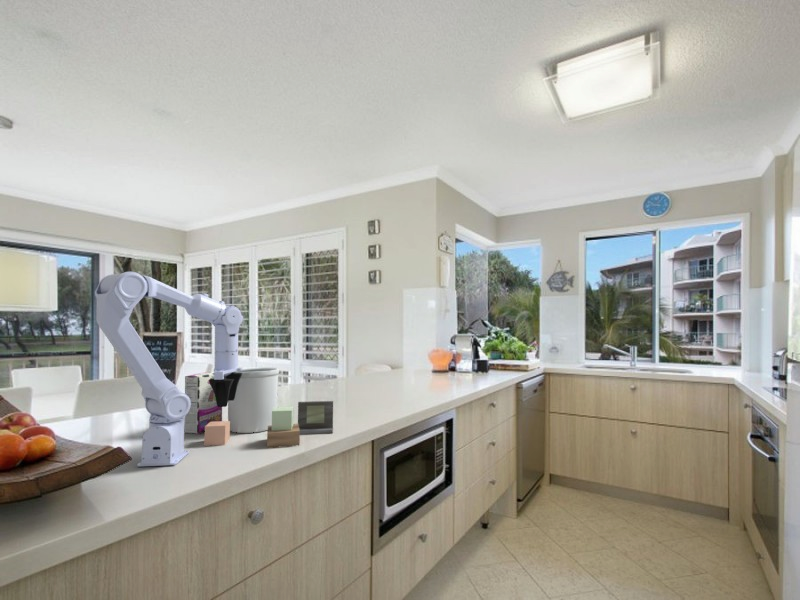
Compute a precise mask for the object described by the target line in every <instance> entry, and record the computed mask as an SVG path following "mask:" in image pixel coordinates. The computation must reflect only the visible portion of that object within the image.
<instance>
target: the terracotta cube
mask: <svg viewBox="0 0 800 600" xmlns="http://www.w3.org/2000/svg"><path fill="white" fill-rule="evenodd" d="M230 435H231V431H230V421H228V420H227V421H226V420H225V421H223V420H222V421H218V422H210V423H208V424H207V425H206V426H205V432H204V439H203V440H204V441H203V443H204V444H203V445H204V446H205V447H207V446H210V445H212V446H225V445H226V444H227V443H228V442H229V441H230V440H229V439H230V438H231V437H230ZM228 440H229V441H228Z"/></svg>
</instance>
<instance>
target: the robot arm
mask: <svg viewBox="0 0 800 600" xmlns="http://www.w3.org/2000/svg"><path fill="white" fill-rule="evenodd" d="M94 296H95V299H96V311H95V312H96V316H95V317H96V319H95V320H96V323H97V326H98V327H99V328H100V330H101V331H102V333H103V334H104V336H105V337H106V339H107V340H108V341H109V343H110V344H111V346H112V347H113V349H114V350H115V352H116V353H117V355H118V356H119V357H120V358H121V360H122V361H123V363H124V365H125V366H126V367H127V369H128V371H130V373H131V375H132V376H133V377H134V379H135V380H136V382H137V383H138V384H139V386H140V388H141V396H142V398H143V400H144V405H145V409H146V411H147V412H148V413H149V414H150V415H149V421H148V423H149V424H148V428H147V430H146V431H144V433H143V436H142V441H141V442H142V443H141V444H142V445H141V461H140V462H138V463H137V464H136V467H157V466H159V467H160V466H175V465H177V464H178V463H180V462H181V460H182V459H183V458H185V457H186V456H187V455H188V454H190V453H191V450H190V449H185V448H184V447H185V433H184V426H185V416H186V414H187V413H188V412H189V410H190V407H191V401H190V398H189V397H188V396H187V395H186V394H185V392H182V391H181V390H180V388H178V386H177V385H176V384H174V382H172V381H171V380H170V379H168V378H167V377H166V375H165V373H164V372H163V370H162V369H161V366H159V364H158V363H157V361H156V360H155V358H154V356H153V355H152V354H151V352H150V350H149V349H148V347H147V345H145V343H144V341H143V340H142V338H141V337H140V335H139V334H138V332H137V330H136V329H135V327H134V326H133V325H132V323H131V321H130V317H131V315H132V312H133V310H134V308H135V307H136V305H138V303H139V302H140V301H141V300H142V299H143V298H154V299H157V300H160V301H163V302H166V303H169V304H172V305H176V306H179V307H181V308H184V310H185V311H186V313H187V315H189V316H191V317H194V318H197V319H199V320H202V321H205V322H208V323H210V324H211V325H213V327H214V367H213V371H214V378H213V379H209V384H210V385H211V387H212V389H213V391H214V394H215V398H216V403H217V406H218V407H222V408H223V407H224V408H225V407H228V401H233V400H234V399H235V395H236V390H237V386H238V383H239V380H240V378H241V376H242V373H235V372H237V371H242V370H243V368H244V367H242V366H240V367H239V332H240V326H241V325H242V323H243V321H244V316H243V314H242V312H241V310H240V309H239V308H238V307H237V306H235V305H226V302H225V301H223V300H219V301H218V300H216V299H214V298H211V297H210V295H209V294H208V293H205V292H202V293H195V294H193V295H190V294H188V293H186V292H184V291H181V290H179V289H177V288H175V287H173V286H170V285H168V284H167V283H164V282H161V281H159V280H157V279H154V278H153V277H151V276H147V275H141V274H140V273H138V272H135V271H125V272H122V273H117V274H116V273H112V274H108V275H106V276H104V277H103V278H101V280H100V282H99V283H98V285H97V287H96V289H95V291H94Z"/></svg>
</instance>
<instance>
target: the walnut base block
mask: <svg viewBox="0 0 800 600" xmlns="http://www.w3.org/2000/svg"><path fill="white" fill-rule="evenodd" d="M266 431H267V436H266V437H267V438H266V448H267V447H273V448H280V447H279V446H286V447H293V446H292V445H298V446H300V445H301V444H300V441H301V440H300V439H301V438H300V436H301V434H300V430H299V425H298V423H293V427H292V430H278V431H272V425H269V426H268V430H266Z"/></svg>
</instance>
